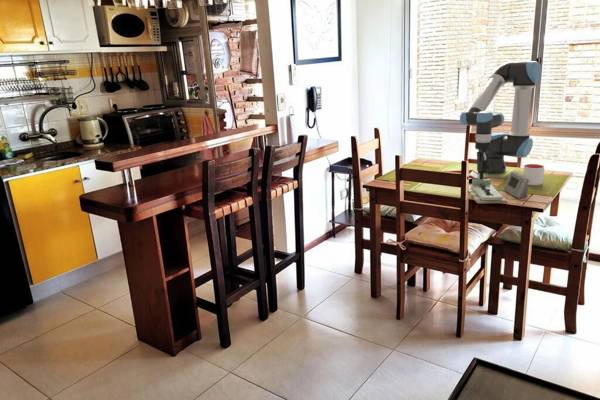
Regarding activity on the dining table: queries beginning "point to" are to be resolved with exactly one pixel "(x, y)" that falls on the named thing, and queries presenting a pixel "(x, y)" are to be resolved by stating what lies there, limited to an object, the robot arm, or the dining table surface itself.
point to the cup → (534, 174)
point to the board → (486, 194)
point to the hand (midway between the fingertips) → (480, 184)
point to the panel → (481, 194)
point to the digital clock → (516, 185)
